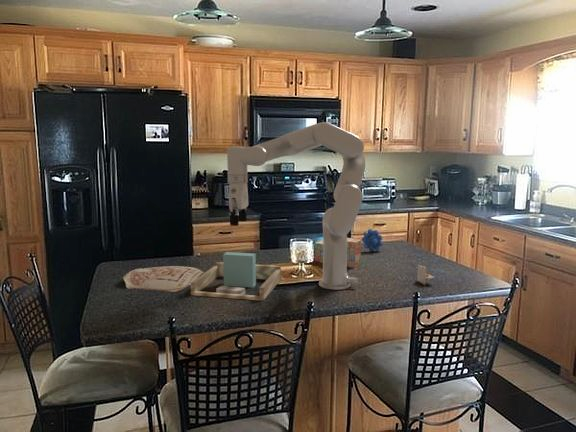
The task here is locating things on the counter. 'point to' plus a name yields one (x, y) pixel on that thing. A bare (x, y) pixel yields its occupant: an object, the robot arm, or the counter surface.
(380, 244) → the blue gear
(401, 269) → the counter surface
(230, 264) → the teal rectangular block
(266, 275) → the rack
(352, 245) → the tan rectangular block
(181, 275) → the poster
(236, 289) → the offcut upper
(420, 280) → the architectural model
